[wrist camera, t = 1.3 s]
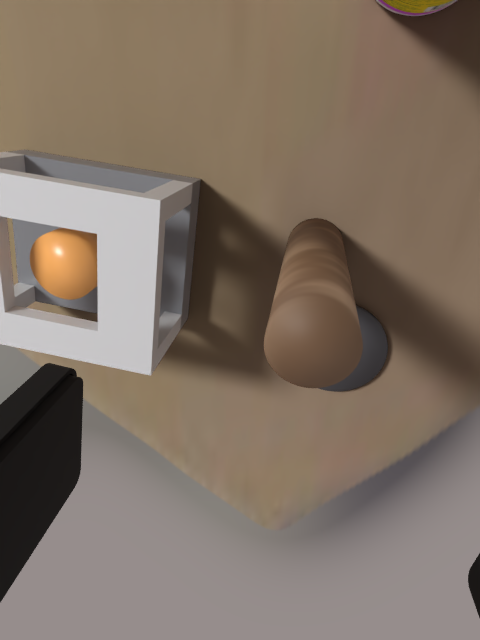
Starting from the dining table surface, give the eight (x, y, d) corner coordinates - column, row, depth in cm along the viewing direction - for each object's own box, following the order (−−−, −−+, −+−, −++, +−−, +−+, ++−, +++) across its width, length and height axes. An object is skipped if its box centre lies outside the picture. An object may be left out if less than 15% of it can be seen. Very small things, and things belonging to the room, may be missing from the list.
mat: (399, 312, 30) (400, 315, 29) (371, 396, 33) (372, 399, 32) (297, 293, 30) (297, 295, 30) (279, 377, 33) (279, 380, 33)
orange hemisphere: (111, 230, 26) (95, 238, 24) (110, 293, 27) (96, 305, 26) (47, 218, 26) (26, 226, 24) (50, 281, 28) (32, 292, 26)
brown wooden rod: (349, 223, 28) (374, 312, 15) (336, 276, 29) (349, 396, 17) (293, 213, 28) (272, 292, 15) (283, 266, 30) (256, 377, 17)
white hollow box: (200, 178, 28) (160, 200, 21) (187, 318, 32) (150, 375, 25) (25, 149, 29) (-71, 160, 22) (35, 288, 33) (-42, 335, 26)
